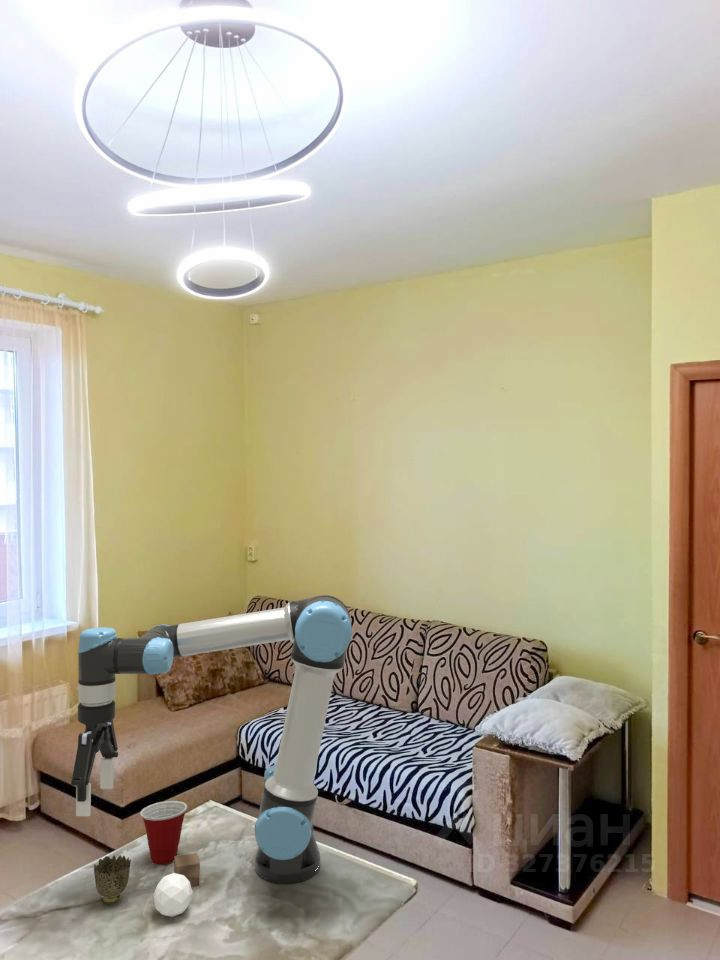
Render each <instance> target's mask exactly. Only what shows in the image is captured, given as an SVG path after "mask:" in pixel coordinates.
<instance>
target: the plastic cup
mask: <svg viewBox="0 0 720 960" xmlns="http://www.w3.org/2000/svg"><path fill="white" fill-rule="evenodd" d="M187 809H188V805H187V804H186V803H185V802H183V801H178V800H169V801H168V800H165V801H159V802H156V803H153V804H150V805H147V806H146V807H144V808H142V809H141V811H140V816H141V818H142V819H143V823H144V828H145V831H146V832H145V833H146V838H147V839H146V840H147V845H148V850H149V856H150V860H151V861H150V862H151V863H153V864H154V865H158V866H163V865H169V864H171V863H174V856H178V850H179V849H178V848H179V844H180V842H181V834H182V829H183V823H184V819H185V813H186V812H187Z"/></svg>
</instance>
